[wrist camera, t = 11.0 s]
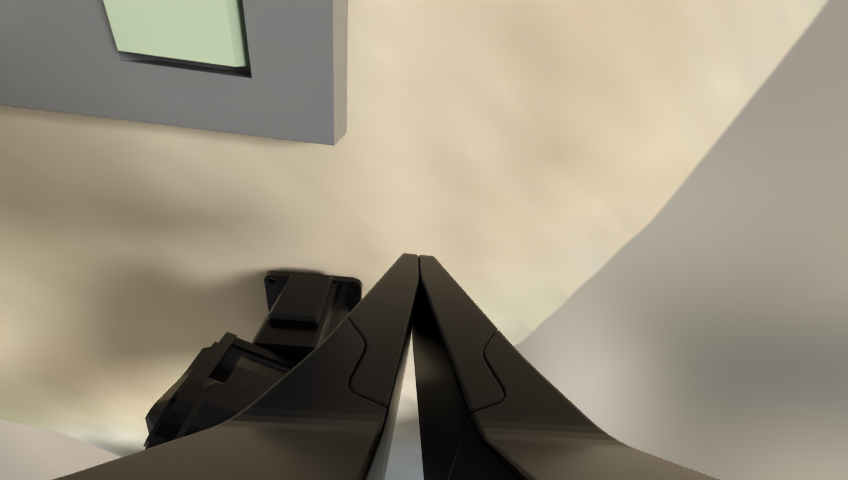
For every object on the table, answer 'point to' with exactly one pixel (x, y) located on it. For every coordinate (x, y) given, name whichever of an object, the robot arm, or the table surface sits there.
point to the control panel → (182, 70)
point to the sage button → (181, 29)
